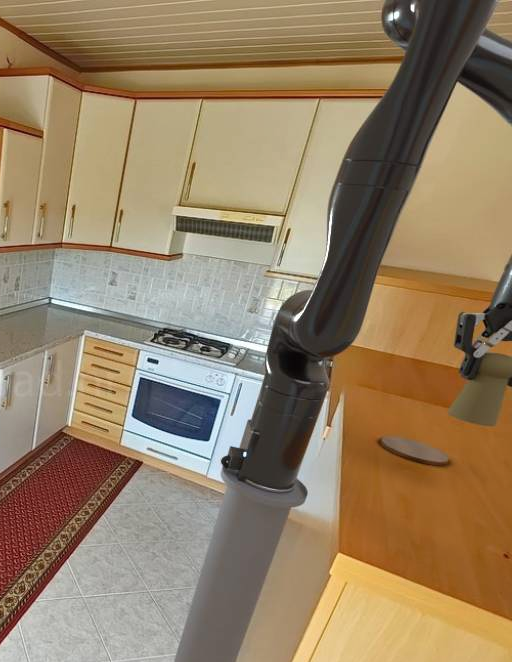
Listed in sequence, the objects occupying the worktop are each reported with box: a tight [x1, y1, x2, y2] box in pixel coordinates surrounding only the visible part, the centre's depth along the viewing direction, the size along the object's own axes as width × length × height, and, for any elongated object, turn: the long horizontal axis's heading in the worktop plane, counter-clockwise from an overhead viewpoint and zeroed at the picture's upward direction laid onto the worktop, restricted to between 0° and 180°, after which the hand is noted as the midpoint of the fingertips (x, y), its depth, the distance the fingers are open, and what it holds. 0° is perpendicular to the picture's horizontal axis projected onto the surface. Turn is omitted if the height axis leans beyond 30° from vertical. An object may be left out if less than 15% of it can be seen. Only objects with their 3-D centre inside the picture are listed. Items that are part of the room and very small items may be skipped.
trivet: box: [380, 435, 450, 466], centre depth 100 cm, size 11×11×1 cm
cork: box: [447, 352, 512, 427], centre depth 78 cm, size 6×6×11 cm
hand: (488, 381), depth 78 cm, fingers closed on cork, 5 cm apart
